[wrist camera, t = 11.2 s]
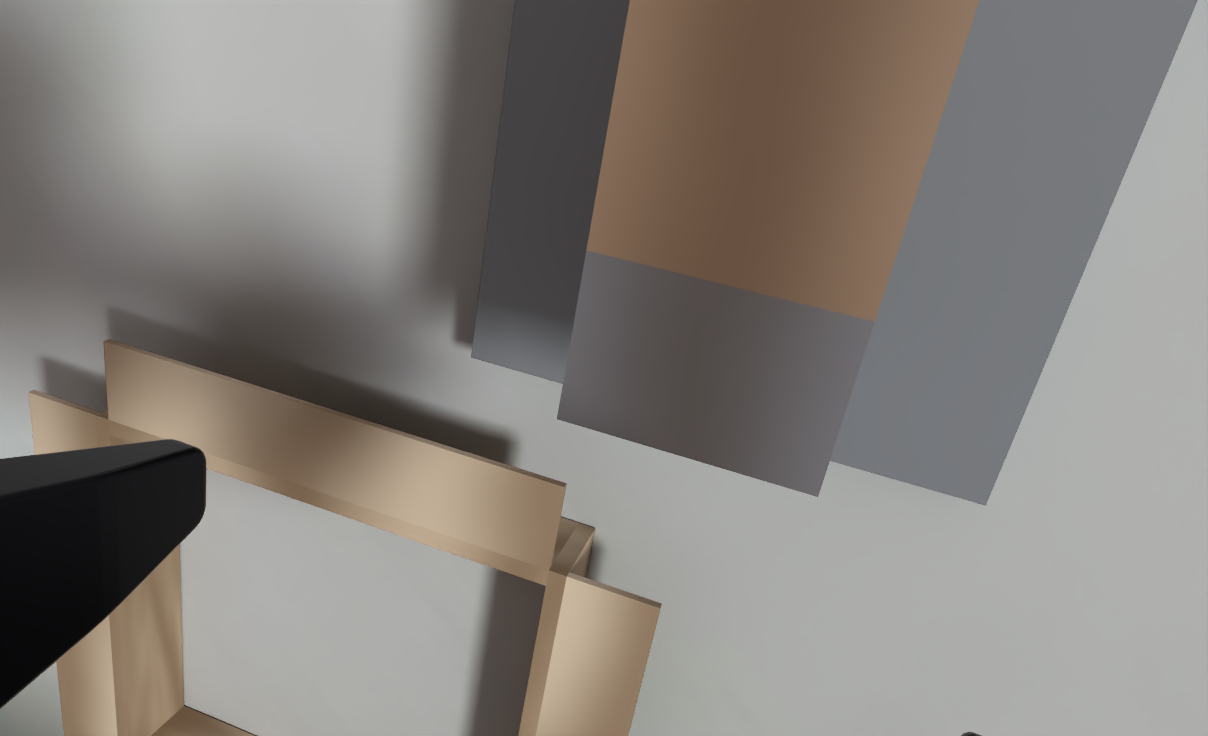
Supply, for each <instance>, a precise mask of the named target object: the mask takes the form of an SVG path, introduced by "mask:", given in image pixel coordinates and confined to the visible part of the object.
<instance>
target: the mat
mask: <svg viewBox="0 0 1208 736" xmlns="http://www.w3.org/2000/svg"><path fill="white" fill-rule="evenodd" d="M629 2H630V0H515V7H514V15H513V23H512V31H511V39H510V47H509V55H508V63H507V72H506V80H505V88H504V96H503V104H502V112H501V120H500V128H499V136H498V144H497V152H496V160H495V168H494V176H493V184H492V192H491V201H490V209H489V217H488V225H487V233H486V241H485V249H484V257H483V265H482V273H481V281H480V289H479V297H478V305H477V313H476V321H475V329H474V338H473V346H472V354H471V358H475V359H478V360H482V361H485V362H489V363H492V364H496V365H499V366H503V367H506V368H510V369H513V370H517V371H520V372H524V373H527V374H530V375H534V376H537V377H541V378H544V379H548V380H551V381H555V382H558V383H562V384H563V382H564V376H565V371H566V365H567V359H568V353H569V348H570V342H571V336H572V330H573V325H574V319H575V313H576V307H577V302H578V296H579V290H580V284H581V279H582V273H583V267H584V261H585V256H586V250H587V244H588V238H589V233H590V227H591V221H592V215H593V210H594V204H595V198H596V192H597V187H598V181H599V175H600V169H601V164H602V158H603V152H604V146H605V141H606V135H607V129H608V123H609V118H610V112H611V106H612V100H613V95H614V89H615V83H616V77H617V72H618V66H619V60H620V54H621V49H622V43H623V37H624V31H625V26H626V20H627V14H628V8H629ZM1196 3H1197V0H979V3H978V6H977V9H976V12H975V15H974V18H973V21H972V25H971V28H970V31H969V34H968V37H967V40H966V43H965V46H964V49H963V52H962V55H961V58H960V61H959V64H958V68H957V71H956V74H955V77H954V80H953V83H952V86H951V89H950V92H949V95H948V98H947V101H946V104H945V108H944V111H943V114H942V117H941V120H940V123H939V126H938V129H937V132H936V135H935V138H934V141H933V144H932V148H931V151H930V154H929V157H928V160H927V163H926V166H925V169H924V172H923V175H922V178H921V181H920V184H919V187H918V191H917V194H916V197H915V200H914V203H913V206H912V209H911V212H910V215H909V218H908V221H907V224H906V227H905V231H904V234H903V237H902V240H901V243H900V246H899V249H898V252H897V255H896V258H895V261H894V264H893V267H892V271H891V274H890V277H889V280H888V283H887V286H886V289H885V292H884V295H883V298H882V301H881V304H880V307H879V310H878V314H877V317H876V320H875V323H874V326H873V329H872V332H871V335H870V338H869V341H868V344H867V347H866V350H865V354H864V357H863V360H862V363H861V366H860V369H859V372H858V375H857V378H856V381H855V384H854V387H853V390H852V394H851V397H850V400H849V403H848V406H847V409H846V412H845V415H844V418H843V421H842V424H841V427H840V430H839V433H838V437H837V440H836V443H835V446H834V449H833V452H832V455H831V458H830V461H833V462H836V463H840V464H843V465H847V466H850V467H854V468H857V469H861V470H864V471H868V472H871V473H875V474H878V475H882V476H885V477H889V478H892V479H896V480H899V481H903V482H906V483H909V484H913V485H916V486H920V487H923V488H927V489H930V490H934V491H937V492H941V493H944V494H948V495H951V496H955V497H958V498H962V499H965V500H969V501H972V502H976V503H979V504H982V505H986V503H987V501H988V499H989V496H990V494H991V491H992V489H993V487H994V484H995V482H996V479H997V477H998V475H999V472H1000V470H1001V468H1002V465H1003V463H1004V460H1005V458H1006V456H1007V453H1008V451H1009V448H1010V446H1011V444H1012V441H1013V439H1014V437H1015V434H1016V432H1017V429H1018V427H1019V425H1020V422H1021V420H1022V418H1023V415H1024V413H1025V410H1026V408H1027V406H1028V403H1029V401H1030V398H1031V396H1032V394H1033V391H1034V389H1035V387H1036V384H1037V382H1038V379H1039V377H1040V375H1041V372H1042V370H1043V367H1044V365H1045V363H1046V360H1047V358H1048V356H1049V353H1050V351H1051V348H1052V346H1053V344H1054V341H1055V339H1056V336H1057V334H1058V332H1059V329H1060V327H1061V325H1062V322H1063V320H1064V317H1065V315H1066V313H1067V310H1068V308H1069V305H1070V303H1071V301H1072V298H1073V296H1074V294H1075V291H1076V289H1077V286H1078V284H1079V282H1080V279H1081V277H1082V274H1083V272H1084V270H1085V267H1086V265H1087V263H1088V260H1089V258H1090V255H1091V253H1092V251H1093V248H1094V246H1095V243H1096V241H1097V239H1098V236H1099V234H1100V232H1101V229H1102V227H1103V224H1104V222H1105V220H1106V217H1107V215H1108V212H1109V210H1110V208H1111V205H1112V203H1113V201H1114V198H1115V196H1116V193H1117V191H1118V189H1119V186H1120V184H1121V181H1122V179H1123V177H1124V174H1125V172H1126V170H1127V167H1128V165H1129V162H1130V160H1131V158H1132V155H1133V153H1134V150H1135V148H1136V146H1137V143H1138V141H1139V139H1140V136H1141V134H1142V131H1143V129H1144V127H1145V124H1146V122H1147V119H1148V117H1149V115H1150V112H1151V110H1152V108H1153V105H1154V103H1155V100H1156V98H1157V96H1158V93H1159V91H1160V88H1161V86H1162V84H1163V81H1164V79H1165V77H1166V74H1167V72H1168V69H1169V67H1170V65H1171V62H1172V60H1173V57H1174V55H1175V53H1176V50H1177V48H1178V46H1179V43H1180V41H1181V38H1182V36H1183V34H1184V31H1185V29H1186V26H1187V24H1188V22H1189V19H1190V17H1191V15H1192V12H1193V10H1194V7H1195V5H1196Z"/></svg>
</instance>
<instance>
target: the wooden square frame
mask: <svg viewBox="0 0 1208 736" xmlns="http://www.w3.org/2000/svg"><path fill="white" fill-rule="evenodd" d="M104 356H105V372H106V388H107V403H108V410H106V411H104V412H101V413H100V412H97V411H94V410H92V409H89V408H86V407H83V406H80V405H77V404H74V403H71V402H68V401H65V400H62V399H59V398H56V397H53V396H50V395H48V394H45V393H42V392H39V391H36V390H33V391H31V392H28V394H29V404H30V414H31V423H32V433H33V442H34V452H35V455H38V454H47V453H55V452H64V451H72V450H81V449H89V448H97V447H106V446H114V445H123V444H131V443H139V442H148V441H156V440H165V439H174V440H178V441H181V442H184V443H186V444H189V445H192V446H194V447H197V448H199V449H200V450H201V451H203V453H204V455H205V457H206V468H207V469H210V470H213V471H216V472H218V473H221V474H224V475H227V476H230V477H233V478H236V479H239V480H242V481H244V482H247V483H250V484H253V485H256V486H259V487H262V488H265V489H267V490H270V491H273V492H276V493H279V494H282V495H285V496H288V497H291V498H293V499H296V500H299V501H302V502H305V503H308V504H311V505H314V506H316V507H319V508H322V509H325V510H328V511H331V512H334V513H337V514H340V515H342V516H345V517H348V518H351V519H354V520H357V521H360V522H363V523H365V524H368V525H371V526H374V527H377V528H380V529H383V530H386V531H389V532H391V533H394V534H397V535H400V536H403V537H406V538H409V539H412V540H414V541H417V542H420V543H423V544H426V545H429V546H432V547H435V548H438V549H440V550H443V551H446V552H449V553H452V554H455V555H458V556H461V557H463V558H466V559H469V560H472V561H475V562H478V563H481V564H484V565H487V566H489V567H492V568H495V569H498V570H501V571H504V572H507V573H510V574H512V575H515V576H518V577H521V578H524V579H527V580H530V581H533V582H536V583H538V584H541V585H544V586H546V587H545V593H544V598H543V604H542V609H541V615H540V620H539V626H538V631H537V636H536V642H535V647H534V653H533V658H532V664H531V669H530V674H529V680H528V685H527V691H526V696H525V702H524V707H523V713H522V718H521V723H520V729H519V734H518V736H628V735H629V731H630V727H631V723H632V719H633V715H634V711H635V707H636V703H637V699H638V695H639V691H640V687H641V683H642V679H643V676H644V672H645V668H646V664H647V660H648V656H649V652H650V648H651V644H652V640H653V636H654V632H655V628H656V624H657V620H658V616H659V612H660V609H661V605H662V604H661V603H658V602H655V601H652V600H649V599H646V598H643V597H640V596H638V595H635V594H632V593H629V592H626V591H623V590H620V589H617V588H614V587H611V586H608V585H605V584H602V583H599V582H596V581H593V580H591V579H588V578H585V576H586V571H587V566H588V562H589V557H590V552H591V547H592V542H593V537H594V532H595V528H593V527H590V526H587V525H584V524H581V523H578V522H575V521H571V520H568V519H565V518H562V517H561V511H562V506H563V500H564V495H565V489H566V483H563V482H560V481H557V480H554V479H551V478H547V477H544V476H541V475H538V474H535V473H532V472H528V471H525V470H522V469H519V468H516V467H513V466H509V465H506V464H503V463H500V462H497V461H494V460H490V459H487V458H484V457H481V456H478V455H475V454H471V453H468V452H465V451H462V450H459V449H456V448H452V447H449V446H446V445H443V444H440V443H437V442H433V441H430V440H427V439H424V438H421V437H418V436H414V435H411V434H408V433H405V432H402V431H399V430H395V429H392V428H389V427H386V426H383V425H380V424H376V423H373V422H370V421H367V420H364V419H361V418H357V417H354V416H351V415H348V414H345V413H342V412H338V411H335V410H332V409H329V408H326V407H323V406H319V405H316V404H313V403H310V402H307V401H304V400H300V399H297V398H294V397H291V396H288V395H285V394H281V393H278V392H275V391H272V390H269V389H266V388H262V387H259V386H256V385H253V384H250V383H247V382H243V381H240V380H237V379H234V378H231V377H228V376H224V375H221V374H218V373H215V372H212V371H209V370H205V369H202V368H199V367H196V366H193V365H190V364H186V363H183V362H180V361H177V360H174V359H171V358H167V357H164V356H161V355H158V354H155V353H152V352H148V351H145V350H142V349H139V348H136V347H133V346H129V345H126V344H123V343H120V342H117V341H114V340H110V339H109V340H106V341H104ZM56 662H57V672H58V681H59V691H60V700H61V710H62V719H63V729H64V735H65V736H254V735H252V734H249V733H247V732H245V731H242V730H240V729H238V728H235V727H233V726H231V725H228V724H226V723H224V722H221V721H219V720H216V719H214V718H212V717H209V716H207V715H205V714H202V713H200V712H198V711H195V710H193V709H191V708H188V707H186V706H184V686H183V650H182V615H181V579H180V544H179V545H178V546H177V547H176V548H175V549H174V550H173V551H172V552H171V553H170V554H169V555H168V556H167V557H166V558H165V559H164V560H163V561H162V562H161V563H160V564H159V565H158V566H157V567H156V568H155V569H154V570H153V571H152V572H151V573H150V574H149V575H148V576H147V577H146V578H145V579H144V580H143V581H142V582H141V583H140V584H139V585H138V586H137V587H136V589H135V590H134V591H133V592H132V593H131V594H130V595H129V596H128V597H127V598H126V599H125V600H124V601H123V602H122V603H121V604H120V605H119V606H118V607H117V608H116V609H115V610H114V611H112V612H111V613H110V614H109V615H108V616H107V617H106V618H105V619H104V620H103V621H102V622H101V623H100V624H99V625H98V626H96V627H95V628H94V629H93V630H92V631H91V632H90V633H89V634H87V635H86V636H85V637H84V638H83V639H82V640H80V641H79V642H78V643H77V644H76V645H74V646H73V647H72V648H71V649H70V650H69V651H67V652H66V653H65V654H64V655H63V656H62V657H60V658H59V659H58V660H57V661H56Z"/></svg>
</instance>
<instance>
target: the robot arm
mask: <svg viewBox="0 0 1208 736" xmlns="http://www.w3.org/2000/svg"><path fill="white" fill-rule="evenodd" d="M205 507H206V457H205V455H204V453H203V451H201V450H200V449H199V448H197V447H194V446H192V445H189V444H186V443H184V442H181V441H178V440H174V439H165V440H156V441H148V442H139V443H131V444H123V445H114V446H106V447H97V448H89V449H81V450H72V451H64V452H55V453H47V454H38V455H30V456H22V457H13V458H5V459H0V709H1V708H2V707H3V706H4V705H5V704H6V703H8V702H9V701H10V700H11V699H12V698H13V697H15V696H16V695H17V694H18V693H19V692H20V691H22V690H23V689H24V688H25V687H26V686H28V685H29V684H30V683H31V682H32V681H33V680H35V679H36V678H37V677H38V676H39V675H40V674H42V673H43V672H44V671H45V670H46V669H47V668H49V667H50V666H51V665H52V664H53V663H55V662H56V661H57V660H58V659H59V658H60V657H62V656H63V655H64V654H65V653H66V652H67V651H69V650H70V649H71V648H72V647H73V646H74V645H76V644H77V643H78V642H79V641H80V640H82V639H83V638H84V637H85V636H86V635H87V634H89V633H90V632H91V631H92V630H93V629H94V628H95V627H96V626H98V625H99V624H100V623H101V622H102V621H103V620H104V619H105V618H106V617H107V616H108V615H109V614H110V613H111V612H112V611H114V610H115V609H116V608H117V607H118V606H119V605H120V604H121V603H122V602H123V601H124V600H125V599H126V598H127V597H128V596H129V595H130V594H131V593H132V592H133V591H134V590H135V589H136V587H137V586H138V585H139V584H140V583H141V582H142V581H143V580H144V579H145V578H146V577H147V576H148V575H149V574H150V573H151V572H152V571H153V570H154V569H155V568H156V567H157V566H158V565H159V564H160V563H161V562H162V561H163V560H164V559H165V558H166V557H167V556H168V555H169V554H170V553H171V552H172V551H173V550H174V549H175V548H176V547H177V546H178V545H179V544H180V543H181V542H182V541H183V540H184V539H185V538H186V537H187V536H188V535H189V534H190V533H191V532H192V531H193V530H194V529H195V527H196V526H197V525H198V524H199V522H200V521H201V519H202V517H203V515H204V511H205ZM961 736H981V735H979V734H976V733H973V732H967V733H963V734H962V735H961Z"/></svg>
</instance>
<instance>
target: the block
mask: <svg viewBox="0 0 1208 736" xmlns="http://www.w3.org/2000/svg"><path fill="white" fill-rule="evenodd" d="M978 3H979V0H630V2H629V8H628V14H627V20H626V26H625V31H624V37H623V43H622V49H621V54H620V60H619V66H618V72H617V77H616V83H615V89H614V95H613V100H612V106H611V112H610V118H609V123H608V129H607V135H606V141H605V146H604V152H603V158H602V164H601V169H600V175H599V181H598V187H597V192H596V198H595V204H594V210H593V215H592V221H591V227H590V233H589V238H588V244H587V250H586V256H585V261H584V267H583V273H582V279H581V284H580V290H579V296H578V302H577V307H576V313H575V319H574V325H573V330H572V336H571V342H570V348H569V353H568V359H567V365H566V371H565V376H564V382H563V388H562V394H561V399H560V405H559V411H558V417H557V419H559V420H562V421H565V422H569V423H572V424H575V425H579V426H582V427H586V428H589V429H592V430H596V431H599V432H602V433H606V434H609V435H612V436H616V437H619V438H622V439H626V440H629V441H632V442H636V443H639V444H643V445H646V446H649V447H653V448H656V449H659V450H663V451H666V452H669V453H673V454H676V455H679V456H683V457H686V458H689V459H693V460H696V461H699V462H703V463H706V464H710V465H713V466H716V467H720V468H723V469H726V470H730V471H733V472H736V473H740V474H743V475H746V476H750V477H753V478H756V479H760V480H763V481H767V482H770V483H773V484H777V485H780V486H783V487H787V488H790V489H793V490H797V491H800V492H803V493H807V494H810V495H813V496H817V497H818V495H819V492H820V489H821V486H822V483H823V480H824V477H825V473H826V470H827V467H828V464H829V461H830V458H831V455H832V452H833V449H834V446H835V443H836V440H837V437H838V433H839V430H840V427H841V424H842V421H843V418H844V415H845V412H846V409H847V406H848V403H849V400H850V397H851V394H852V390H853V387H854V384H855V381H856V378H857V375H858V372H859V369H860V366H861V363H862V360H863V357H864V354H865V350H866V347H867V344H868V341H869V338H870V335H871V332H872V329H873V326H874V323H875V320H876V317H877V314H878V310H879V307H880V304H881V301H882V298H883V295H884V292H885V289H886V286H887V283H888V280H889V277H890V274H891V271H892V267H893V264H894V261H895V258H896V255H897V252H898V249H899V246H900V243H901V240H902V237H903V234H904V231H905V227H906V224H907V221H908V218H909V215H910V212H911V209H912V206H913V203H914V200H915V197H916V194H917V191H918V187H919V184H920V181H921V178H922V175H923V172H924V169H925V166H926V163H927V160H928V157H929V154H930V151H931V148H932V144H933V141H934V138H935V135H936V132H937V129H938V126H939V123H940V120H941V117H942V114H943V111H944V108H945V104H946V101H947V98H948V95H949V92H950V89H951V86H952V83H953V80H954V77H955V74H956V71H957V68H958V64H959V61H960V58H961V55H962V52H963V49H964V46H965V43H966V40H967V37H968V34H969V31H970V28H971V25H972V21H973V18H974V15H975V12H976V9H977V6H978Z"/></svg>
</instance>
